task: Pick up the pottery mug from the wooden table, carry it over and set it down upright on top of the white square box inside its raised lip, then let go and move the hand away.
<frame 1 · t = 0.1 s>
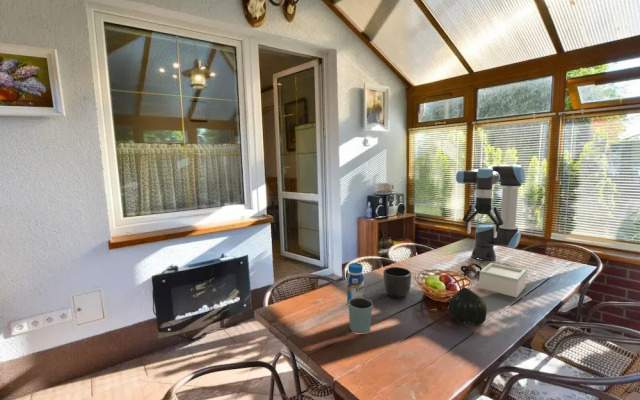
hand: (481, 235, 176), 28 cm above the table, tool pointing down, fingers open, 13 cm apart
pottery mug: (470, 275, 193), on the table
green tumbler cup: (360, 329, 135), on the table
squash: (466, 321, 141), on the table
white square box: (502, 287, 174), on the table
beverage bottle: (355, 304, 158), on the table
planter: (396, 295, 167), on the table
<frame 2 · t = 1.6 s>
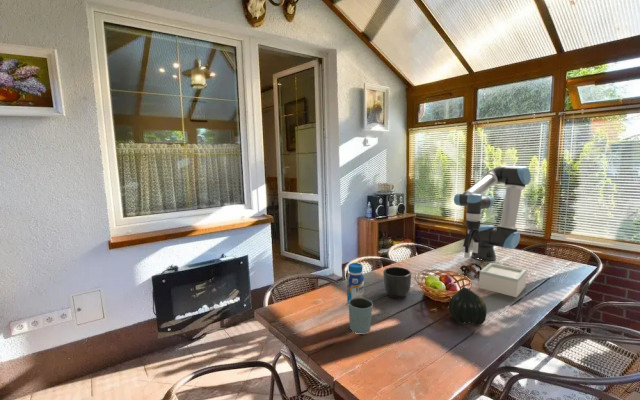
hand: (471, 255, 191), 12 cm above the table, tool pointing down, fingers open, 13 cm apart
nothing on the table moved.
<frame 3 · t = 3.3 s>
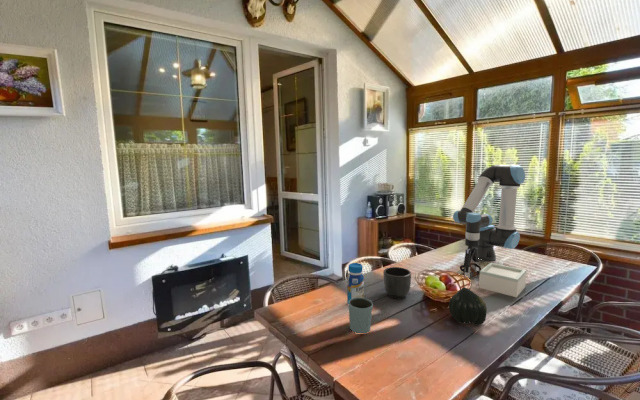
hand: (470, 274, 193), 0 cm above the table, tool pointing down, fingers open, 11 cm apart
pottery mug: (469, 274, 193), on the table, touching gripper
everything else where it was.
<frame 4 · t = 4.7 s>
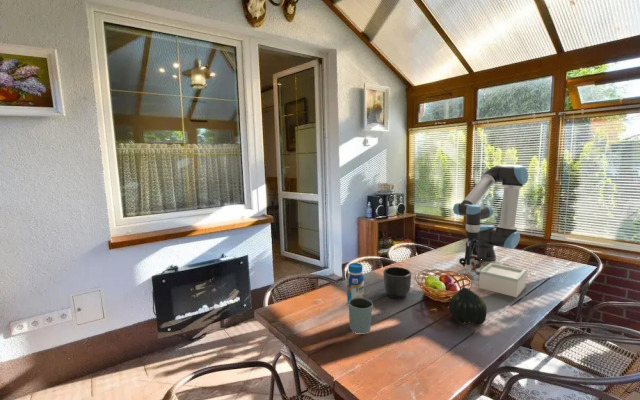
hand: (471, 267, 192), 5 cm above the table, tool pointing down, fingers closed on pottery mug, 9 cm apart
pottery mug: (469, 268, 193), point 4 cm above the table, touching gripper
everything else where it was.
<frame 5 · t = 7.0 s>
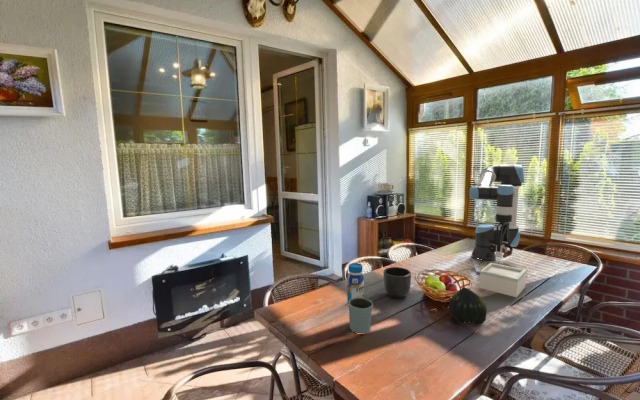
hand: (501, 255, 173), 18 cm above the table, tool pointing down, fingers closed on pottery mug, 9 cm apart
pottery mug: (499, 255, 174), point 17 cm above the table, touching gripper
everything else where it was.
when the fingers open (9 cm above the table, at t = 9.5 s): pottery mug drops 1 cm, resting on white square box.
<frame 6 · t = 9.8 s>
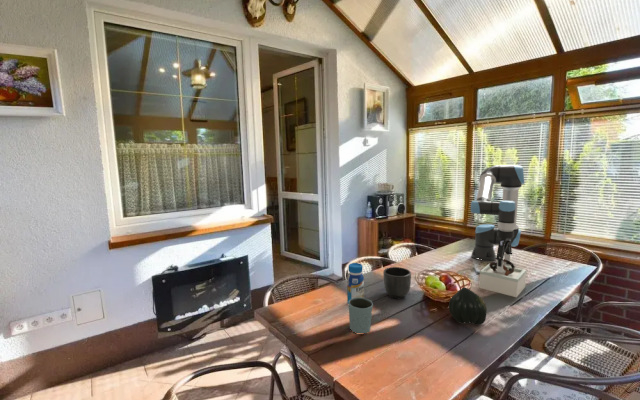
hand: (503, 268, 173), 10 cm above the table, tool pointing down, fingers open, 12 cm apart
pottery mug: (500, 273, 174), point 8 cm above the table, touching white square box
everything else where it was.
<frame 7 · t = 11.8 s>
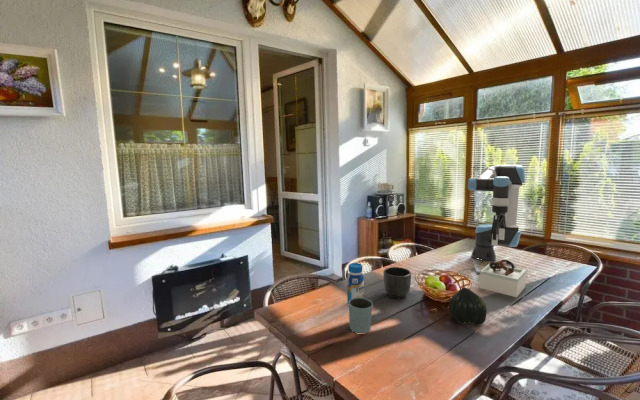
hand: (497, 242, 178), 23 cm above the table, tool pointing down, fingers open, 13 cm apart
nothing on the table moved.
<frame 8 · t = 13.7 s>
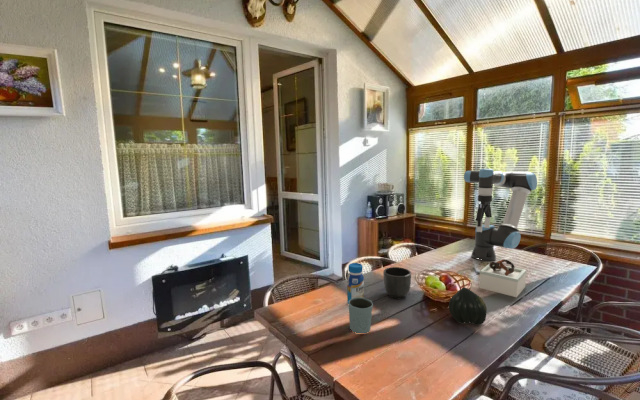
hand: (483, 229, 193), 27 cm above the table, tool pointing down, fingers open, 13 cm apart
nothing on the table moved.
at the end: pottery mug inside the target area on the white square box (1.1 cm from its centre), point 7.8 cm above the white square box's base; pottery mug tilted 2°; the gripper is holding nothing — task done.
